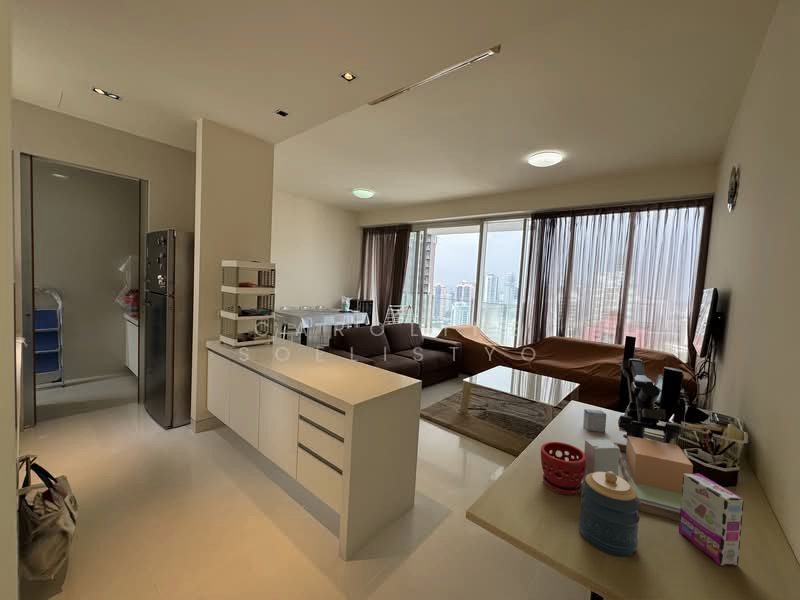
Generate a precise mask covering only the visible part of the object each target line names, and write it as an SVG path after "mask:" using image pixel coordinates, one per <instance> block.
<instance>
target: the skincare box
mask: <svg viewBox="0 0 800 600" xmlns="http://www.w3.org/2000/svg"><path fill="white" fill-rule="evenodd" d="M619 452H620V448H618V447H617V446H616V445H615V444H614V442H612V441H611V440H609V439H585V440H584V451H583V453H584V454H585V456H586V469H585V474H584V477H583V480H582V483H583V482H584V481H585V478H586V476H587V475H588V474H590V473H595V472H608V471H611V472H614V473H615V474H616V475H617V476H619V467H620V465H619Z"/></svg>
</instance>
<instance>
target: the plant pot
mask: <svg viewBox="0 0 800 600" xmlns="http://www.w3.org/2000/svg"><path fill="white" fill-rule="evenodd" d="M550 451H551V452H550ZM557 452H560V453H561V456H558V455H557V454H556V453H557ZM566 452H567V453H568V454H566ZM566 458H567V459H568V460H566ZM540 462H541V467H542V472H543V474H542V480H543V482H544V483H545V486H547V487H548V488H550V490H553V491H554V492H557V493H559V494H563V495H570V496H571V495H576V494H579V493H580V492H582V489H581V484H582V483H583V477H584V474H585V469H586V456H585V454H584V451H582V449H580V448H578V447H577V446H574V445H571V444H570V443H569V444H568V443H566V442H559V441H549V442H546V443H543V444H542V445H541V448H540Z"/></svg>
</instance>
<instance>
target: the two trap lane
mask: <svg viewBox="0 0 800 600" xmlns="http://www.w3.org/2000/svg"><path fill="white" fill-rule="evenodd" d="M613 444H615V445H616V446H617V447H618V448H620V452H619V467H620V468H619V469H620V470H621V474H622V476H623V479H624V480H626V481H627V482H628V483H629V484H630V485H632V486H633V487H634V488H635V490H636V491H637V498H638V499H639V501H640V503H641V507H640V509H639V510H638V511H640V512H642V513H643V512H644V513H648V514H650V515H655V516H658V517H662V518H665V519H669V520H673V521H676V522H679V521H680V510H681V497H682V494H680V493H676V492H672V491H668V490H664V489H660V488H655V487H651V486H647V485H643V484H639V483H635V482H633V479H632V477H631V475H630V472H629V469H628V467H627V464H626V448H627V444H624V443H619V442H613Z"/></svg>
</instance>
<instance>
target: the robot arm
mask: <svg viewBox="0 0 800 600" xmlns="http://www.w3.org/2000/svg"><path fill="white" fill-rule="evenodd" d="M620 370H621V371H622V375H623V376H624V377H625V378H626V379H627V385H628V388H627V389H628V395H629V396H628V397H629V405H628V407H627V409H626V411H625V413H624V415H623V414H621V415H620V416H619V417H618V422H617V425H618V428H620V429H622V430H623V431H625V432H626V434H623V435H622V436H623V437H624V438H627V436H632V437H637V438H642V439H646V437H645V431H646V430H645V429H649V430H655V431H658V432H659V431H660V432H663V443H668V444H671V440H675V439H678V437H679V436H680V434H681V433H682V428H681V426H679V424H675V423H674V424H673V423H671V422H670V423H668V422H667V423H665V425H660V424H659V423H660V420H661V419H666V418H667V412H666V409H663V408H659V409H655V403H656V402H657V400H658V398H659V396H660V394H661V389H660V388H659V387H658V386H656V385H655V384H654V382H653V380H652V379H650V378H649V377H647V374H646V371H645V363H644V362H643V360H642V359H638V358H628V359H625V360H622V361H621V363H620Z"/></svg>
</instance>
